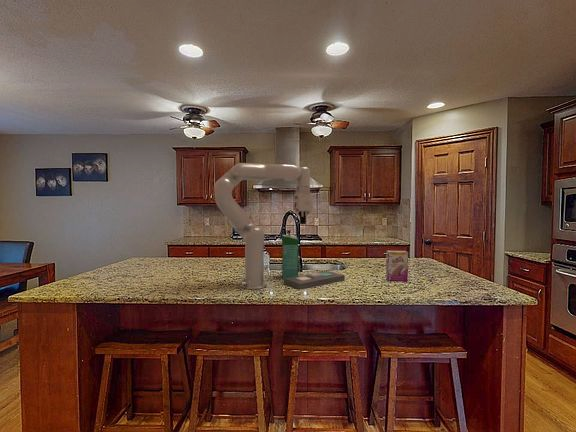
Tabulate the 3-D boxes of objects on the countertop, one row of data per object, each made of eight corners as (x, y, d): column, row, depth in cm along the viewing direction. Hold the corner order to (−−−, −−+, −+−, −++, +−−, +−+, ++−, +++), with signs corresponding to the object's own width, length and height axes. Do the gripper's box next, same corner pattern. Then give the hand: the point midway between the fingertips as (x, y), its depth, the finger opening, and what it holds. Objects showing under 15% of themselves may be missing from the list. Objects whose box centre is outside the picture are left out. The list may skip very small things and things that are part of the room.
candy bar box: (387, 281, 177) (387, 251, 177) (385, 279, 182) (385, 250, 182) (408, 281, 176) (408, 252, 176) (405, 279, 181) (406, 250, 180)
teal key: (325, 280, 175) (325, 275, 175) (317, 278, 180) (317, 274, 180) (333, 278, 179) (333, 274, 179) (325, 276, 184) (325, 272, 184)
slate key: (314, 280, 170) (314, 275, 170) (307, 278, 175) (307, 273, 175) (322, 278, 174) (322, 274, 174) (315, 276, 179) (315, 272, 179)
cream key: (302, 284, 166) (302, 280, 166) (295, 282, 171) (295, 278, 170) (311, 283, 169) (311, 278, 169) (304, 281, 174) (304, 276, 174)
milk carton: (298, 279, 181) (298, 235, 180) (282, 279, 182) (282, 235, 181) (297, 275, 190) (297, 234, 189) (282, 275, 191) (282, 233, 190)
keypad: (299, 289, 160) (299, 283, 160) (283, 284, 171) (283, 278, 171) (344, 280, 179) (344, 275, 178) (327, 275, 190) (327, 270, 190)
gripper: (296, 189, 165) (296, 225, 166) (317, 190, 174) (317, 223, 175) (287, 190, 171) (287, 224, 172) (309, 190, 180) (309, 223, 181)
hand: (302, 224), depth 174 cm, fingers closed
